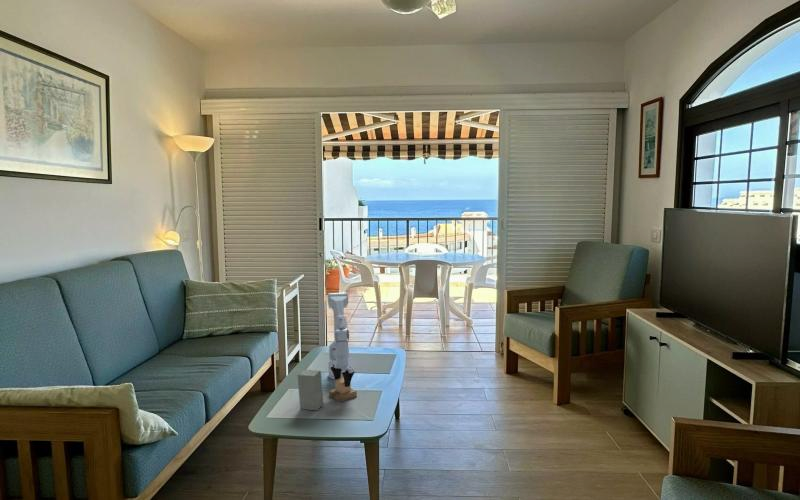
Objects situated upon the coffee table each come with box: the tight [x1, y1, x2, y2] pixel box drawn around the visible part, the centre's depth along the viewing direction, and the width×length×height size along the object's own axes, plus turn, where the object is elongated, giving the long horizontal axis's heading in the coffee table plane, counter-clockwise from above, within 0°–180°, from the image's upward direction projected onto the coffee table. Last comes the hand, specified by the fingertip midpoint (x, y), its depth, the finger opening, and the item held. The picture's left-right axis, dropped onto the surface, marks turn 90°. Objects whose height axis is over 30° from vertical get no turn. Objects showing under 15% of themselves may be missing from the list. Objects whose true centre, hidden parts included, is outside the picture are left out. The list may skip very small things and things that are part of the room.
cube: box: [334, 378, 352, 394], centre depth 210 cm, size 5×5×5 cm
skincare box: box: [296, 368, 324, 411], centre depth 198 cm, size 8×7×16 cm
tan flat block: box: [328, 388, 358, 403], centre depth 210 cm, size 9×9×3 cm
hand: (342, 384), depth 209 cm, fingers open, 7 cm apart
